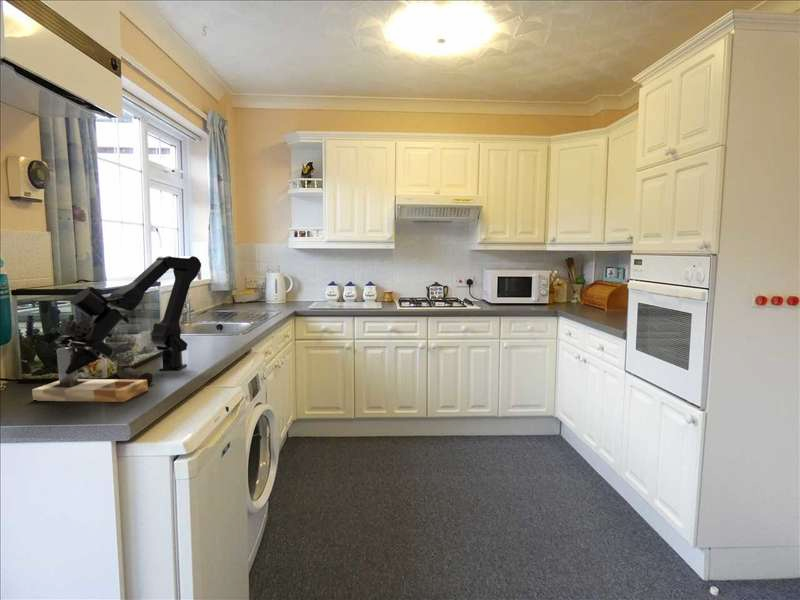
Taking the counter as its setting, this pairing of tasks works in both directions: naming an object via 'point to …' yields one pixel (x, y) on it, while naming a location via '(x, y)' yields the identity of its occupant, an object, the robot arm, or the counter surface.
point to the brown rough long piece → (132, 373)
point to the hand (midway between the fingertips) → (62, 372)
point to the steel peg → (64, 361)
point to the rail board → (92, 390)
